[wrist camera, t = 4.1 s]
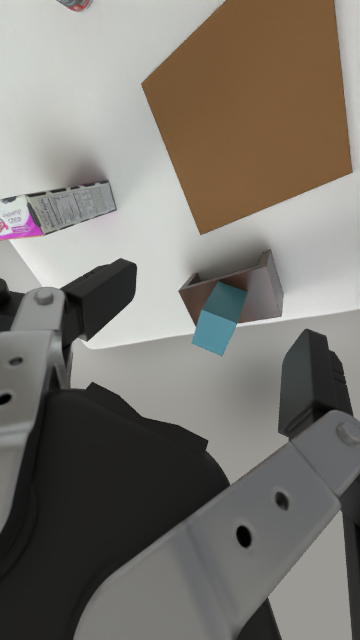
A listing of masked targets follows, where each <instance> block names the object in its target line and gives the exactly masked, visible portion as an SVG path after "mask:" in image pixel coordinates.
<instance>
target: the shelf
mask: <svg viewBox="0 0 360 640" xmlns="http://www.w3.org/2000/svg"><path fill="white" fill-rule="evenodd" d="M218 281H219V282H222V283H224V284H227V285H230V286H233V287H235V288H238V289H241V290H244V291H246V292H248V293H247V296H246V299H245V302H244V305H243V308H242V311H241V314H240V317H239V320H238V323H244V322H250V321H256V320H262V319H268V318H275V317H281V316H282V307H283V295H284V294H283V291H282V287H281V284H280V280H279V277H278V273H277V270H276V266H275V262H274V259H273V255H272V252H271V249H270V250H267V251H264V252H263V253H262V256H261V259H260V262H259V265H257V266H254V267H250V268H247V269H244V270H240V271H237V272H233V273H230V274H227V275H223V276H220V277H216V278H213V279H209V280H206V281H203V282H201V280H200V277H199V275H198V273H195V274H192V275H191V277H190V278H189V279H188V280H187V281H186V283H185V284H184V285H183V286H182V287H181V288H180V290H179V293H180V295H181V297H182V300H183V302H184V304H185V306H186V308H187V310H188V312H189V314H190V316H191V318H192V320H193V322H194V324H195V326H196V327H197V323H198V320H199V317H200V313H201V310H202V308H203V306H204V305H205V303H206V301H207V300H208V298H209V296H210V295H211V293H212V291H213V290H214V288H215V286H216V285H217V283H218ZM238 323H237V324H238Z"/></svg>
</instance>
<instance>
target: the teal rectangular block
mask: <svg viewBox="0 0 360 640" xmlns="http://www.w3.org/2000/svg"><path fill="white" fill-rule="evenodd" d="M247 293H248V292H246V291H244V290H241V289H238V288H235V287H233V286H230V285H227V284H224V283H222V282H219V281H218V283H217V285H216V286H215V288H214V290H213V291H212V293H211V295H210V296H209V298H208V300H207V301H206V303H205V305H204V306H203V308H202V310H201V313H200V317H199V320H198V323H197V327H196V330H195V333H194V336H193V340H192V343H193V344H195V345H197V346H199V347H202V348H204V349H206V350H209V351H211V352H214V353H216V354H218V355H221V356H222V355H223V354H224V351H225V349H226V347H227V345H228V343H229V340H230V338H231V336H232V334H233V332H234V329H235V327H236V325H237V323H238V320H239V317H240V314H241V311H242V308H243V305H244V302H245V299H246V296H247Z"/></svg>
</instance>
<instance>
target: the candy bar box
mask: <svg viewBox="0 0 360 640" xmlns="http://www.w3.org/2000/svg"><path fill="white" fill-rule="evenodd" d="M113 211H116V206H115V202H114V199H113V196H112V192H111V188H110V185H109V181H102V182H95V183H89V184H82V185H76V186H70V187H65V188H59V189H53V190H48V191H42V192H36V193H30V194H25V195H19V196H14V197H9V198H5V199H0V241H1V240H8V239H18V238H29V237H39V236H45V235H47V234H50V233H53V232H56V231H59V230H62V229H65V228H67V227H70V226H73V225H76V224H79V223H81V222H84V221H87V220H90V219H93V218H95V217H98V216H101V215H104V214H107V213H110V212H113Z"/></svg>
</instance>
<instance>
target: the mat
mask: <svg viewBox="0 0 360 640" xmlns="http://www.w3.org/2000/svg"><path fill="white" fill-rule="evenodd" d="M141 85H142V88H143V90H144V93H145V95H146V98H147V100H148V103H149V105H150V108H151V111H152V113H153V116H154V118H155V121H156V123H157V126H158V128H159V131H160V133H161V136H162V138H163V141H164V144H165V146H166V149H167V151H168V154H169V156H170V159H171V161H172V164H173V166H174V169H175V172H176V174H177V177H178V179H179V182H180V184H181V187H182V189H183V192H184V194H185V197H186V200H187V202H188V205H189V207H190V210H191V212H192V215H193V217H194V220H195V222H196V225H197V227H198V230H199V233H200V235H202V234H205V233H207V232H209V231H212V230H214V229H217V228H219V227H222V226H224V225H226V224H229V223H231V222H234V221H236V220H238V219H241V218H243V217H246V216H248V215H251V214H253V213H255V212H258V211H260V210H263V209H265V208H268V207H270V206H272V205H275V204H277V203H280V202H282V201H285V200H287V199H289V198H292V197H294V196H297V195H299V194H302V193H304V192H306V191H309V190H311V189H314V188H316V187H319V186H321V185H323V184H326V183H328V182H331V181H333V180H336V179H338V178H340V177H343V176H345V175H348V174H350V173H352V165H351V155H350V146H349V137H348V127H347V118H346V109H345V99H344V90H343V81H342V71H341V62H340V53H339V43H338V34H337V25H336V15H335V6H334V0H226V1H225V2H224V3H223V4H222V5H221V6H220V7H219V8H218V9H217V10H216V11H215V12H214V13H213V14H212V15H211V16H210V17H209V18H208V19H207V20H206V21H205V22H204V23H203V24H202V25H201V26H200V27H199V28H198V29H197V30H196V31H195V32H194V33H193V34H192V35H191V36H190V37H189V38H188V39H187V40H186V41H185V42H184V43H183V44H181V45H180V46H179V47H178V48H177V49H176V50H175V51H174V52H173V53H172V54H171V55H170V56H169V57H168V58H167V59H166V60H165V61H164V62H163V63H162V64H161V65H160V66H159V67H158V68H157V69H156V70H155V71H154V72H153V73H152V74H151V75H150V76H149V77H148V78H147V79H146V80H145V81H144V82H143V83H142V84H141Z"/></svg>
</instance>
